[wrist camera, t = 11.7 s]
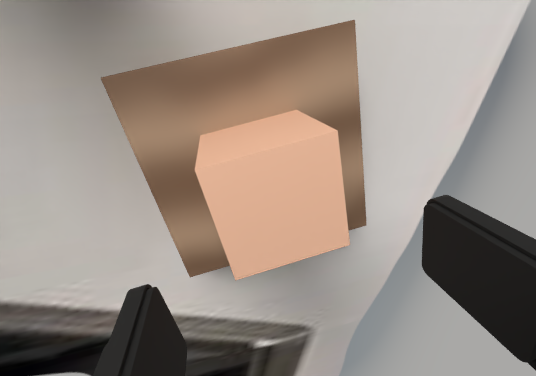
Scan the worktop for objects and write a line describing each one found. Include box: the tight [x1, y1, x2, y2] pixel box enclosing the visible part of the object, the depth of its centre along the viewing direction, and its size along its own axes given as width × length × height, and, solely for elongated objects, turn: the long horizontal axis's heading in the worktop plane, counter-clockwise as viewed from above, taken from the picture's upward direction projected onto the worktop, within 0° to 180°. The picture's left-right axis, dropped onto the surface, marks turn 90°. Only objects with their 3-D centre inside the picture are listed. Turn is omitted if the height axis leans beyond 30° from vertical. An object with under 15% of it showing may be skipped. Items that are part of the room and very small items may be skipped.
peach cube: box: [195, 110, 350, 280], centre depth 15 cm, size 6×6×6 cm
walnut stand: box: [101, 20, 366, 277], centre depth 20 cm, size 14×14×5 cm
